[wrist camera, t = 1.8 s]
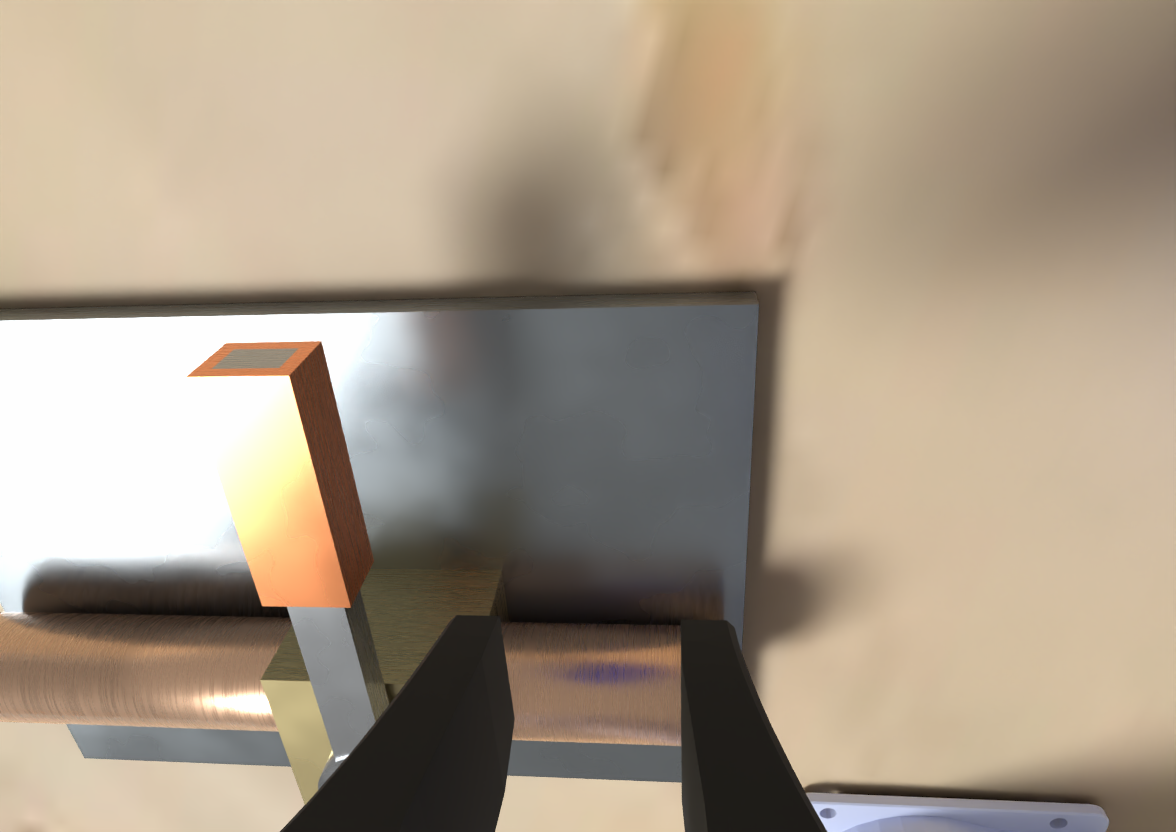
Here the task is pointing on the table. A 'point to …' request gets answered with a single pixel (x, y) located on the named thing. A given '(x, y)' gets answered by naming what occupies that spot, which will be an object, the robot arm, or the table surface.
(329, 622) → the valve lever
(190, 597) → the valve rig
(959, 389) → the table surface
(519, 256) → the table surface
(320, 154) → the table surface
